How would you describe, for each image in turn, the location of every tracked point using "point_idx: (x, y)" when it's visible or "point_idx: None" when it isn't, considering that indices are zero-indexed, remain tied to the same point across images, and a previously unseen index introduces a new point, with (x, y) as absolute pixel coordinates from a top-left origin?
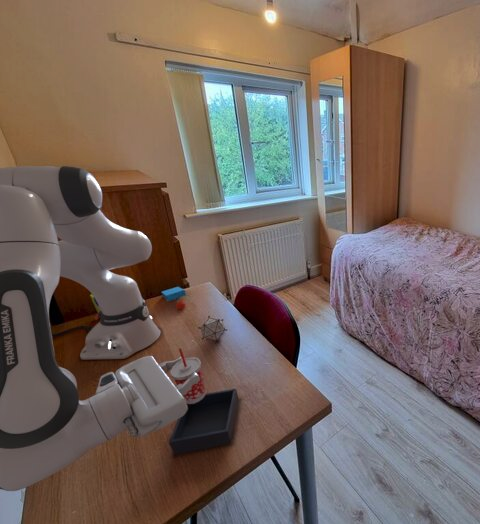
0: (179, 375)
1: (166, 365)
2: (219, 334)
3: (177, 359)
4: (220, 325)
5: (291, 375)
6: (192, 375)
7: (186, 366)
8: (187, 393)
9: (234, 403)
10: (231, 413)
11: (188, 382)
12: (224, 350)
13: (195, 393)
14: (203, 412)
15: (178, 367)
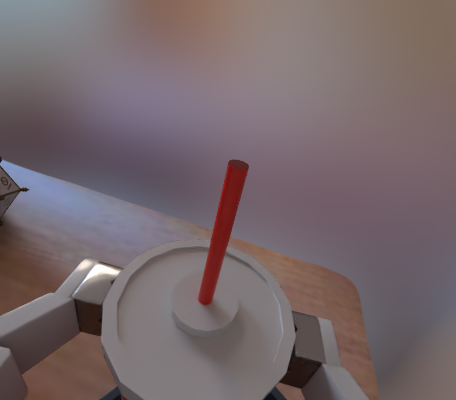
0: (238, 379)
1: (1, 354)
2: (7, 202)
3: (77, 279)
4: (6, 176)
5: (255, 251)
6: (311, 335)
7: (213, 298)
8: None
9: None
10: (276, 390)
11: (362, 394)
12: (45, 239)
13: None
14: None
15: (153, 326)
